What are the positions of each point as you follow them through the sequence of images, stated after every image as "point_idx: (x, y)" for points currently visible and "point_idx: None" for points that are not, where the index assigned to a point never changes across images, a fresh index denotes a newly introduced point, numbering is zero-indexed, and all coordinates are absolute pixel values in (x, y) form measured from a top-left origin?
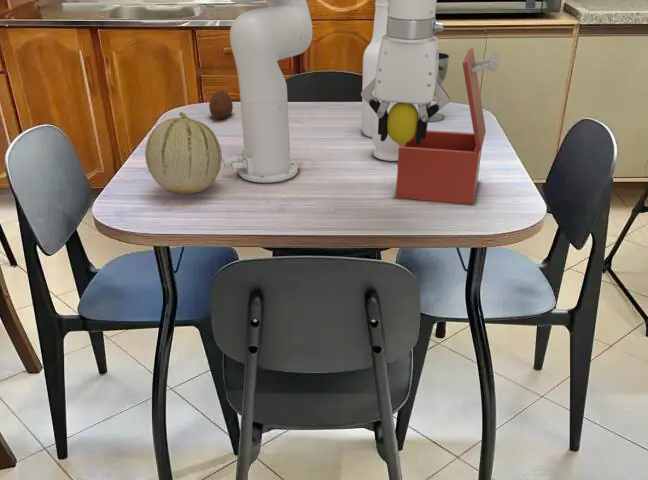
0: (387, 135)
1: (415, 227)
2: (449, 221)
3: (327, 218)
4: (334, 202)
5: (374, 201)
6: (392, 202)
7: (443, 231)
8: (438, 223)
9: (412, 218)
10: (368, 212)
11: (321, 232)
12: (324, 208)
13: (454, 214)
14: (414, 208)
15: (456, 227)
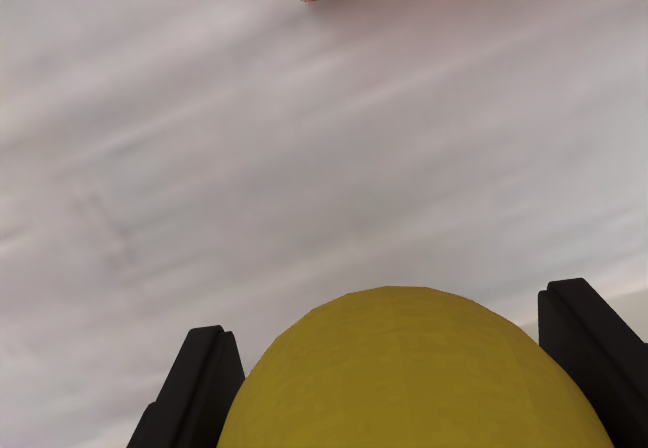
0: (233, 341)
1: (477, 277)
2: (607, 175)
3: (135, 316)
4: (74, 168)
5: (226, 89)
6: (308, 68)
7: (593, 273)
8: (562, 211)
9: (445, 203)
10: (252, 212)
11: None
12: (73, 239)
13: (623, 93)
14: (427, 97)
15: (642, 221)
